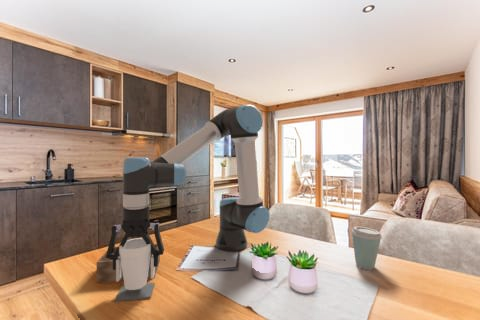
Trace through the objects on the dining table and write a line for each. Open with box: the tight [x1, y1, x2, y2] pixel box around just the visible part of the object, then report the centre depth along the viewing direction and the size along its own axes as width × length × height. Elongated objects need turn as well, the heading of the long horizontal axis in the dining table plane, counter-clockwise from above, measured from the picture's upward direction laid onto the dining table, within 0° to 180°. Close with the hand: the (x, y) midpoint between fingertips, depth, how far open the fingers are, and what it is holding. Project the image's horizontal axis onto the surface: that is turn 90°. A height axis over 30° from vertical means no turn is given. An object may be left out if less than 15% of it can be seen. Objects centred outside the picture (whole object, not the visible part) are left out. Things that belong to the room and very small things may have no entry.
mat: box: [114, 282, 156, 303], centre depth 75 cm, size 10×8×1 cm
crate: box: [96, 243, 161, 284], centre depth 89 cm, size 19×14×7 cm
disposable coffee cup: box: [351, 226, 382, 271], centre depth 94 cm, size 11×11×15 cm
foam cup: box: [118, 237, 151, 290], centre depth 74 cm, size 10×9×13 cm
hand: (135, 277), depth 75 cm, fingers closed on foam cup, 9 cm apart
